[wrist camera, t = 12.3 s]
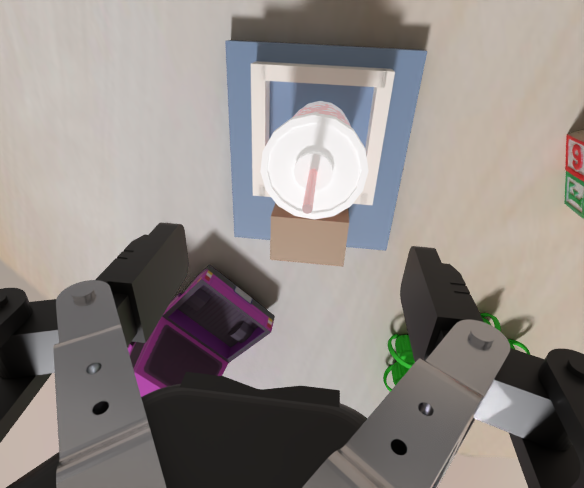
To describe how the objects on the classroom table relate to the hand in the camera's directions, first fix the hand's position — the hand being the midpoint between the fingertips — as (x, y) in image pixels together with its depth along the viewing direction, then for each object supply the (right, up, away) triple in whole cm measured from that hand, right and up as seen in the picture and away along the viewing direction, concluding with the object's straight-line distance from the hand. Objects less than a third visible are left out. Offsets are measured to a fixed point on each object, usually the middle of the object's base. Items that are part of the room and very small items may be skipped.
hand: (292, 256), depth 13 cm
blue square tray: (+2, +8, +18) cm, 20 cm away
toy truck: (-10, -8, +29) cm, 32 cm away
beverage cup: (+2, +9, +15) cm, 18 cm away
